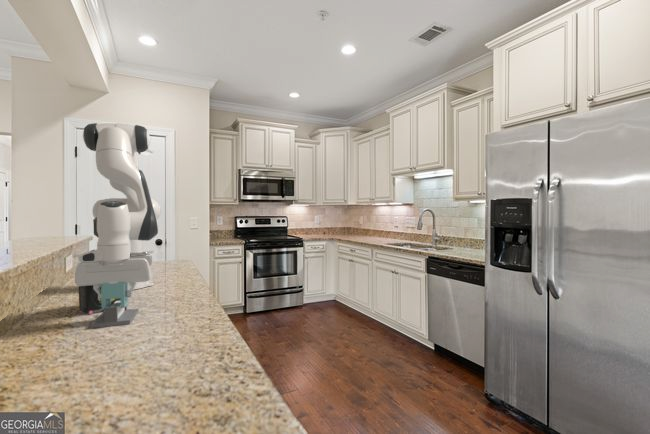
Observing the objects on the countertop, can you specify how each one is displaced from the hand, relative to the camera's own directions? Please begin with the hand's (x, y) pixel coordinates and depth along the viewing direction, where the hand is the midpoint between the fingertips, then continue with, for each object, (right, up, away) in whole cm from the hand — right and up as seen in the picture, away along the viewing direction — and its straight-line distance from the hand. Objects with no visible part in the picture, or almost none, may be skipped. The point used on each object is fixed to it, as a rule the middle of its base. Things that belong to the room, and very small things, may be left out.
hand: (115, 297), depth 103 cm
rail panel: (0, -7, 0) cm, 7 cm away
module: (0, -3, 0) cm, 3 cm away
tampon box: (-12, -7, +12) cm, 19 cm away
